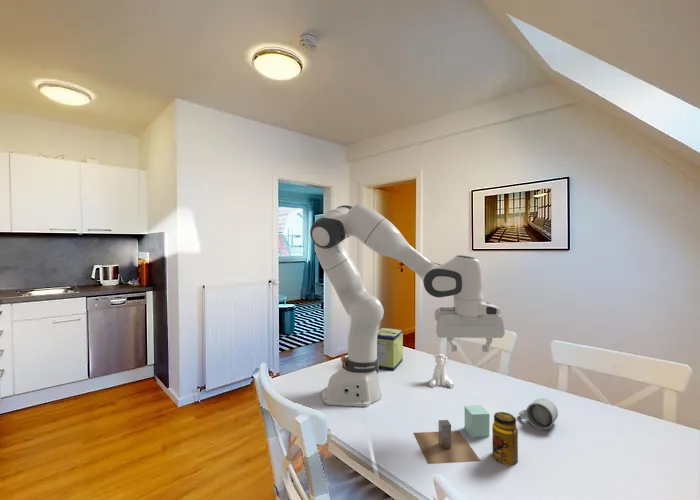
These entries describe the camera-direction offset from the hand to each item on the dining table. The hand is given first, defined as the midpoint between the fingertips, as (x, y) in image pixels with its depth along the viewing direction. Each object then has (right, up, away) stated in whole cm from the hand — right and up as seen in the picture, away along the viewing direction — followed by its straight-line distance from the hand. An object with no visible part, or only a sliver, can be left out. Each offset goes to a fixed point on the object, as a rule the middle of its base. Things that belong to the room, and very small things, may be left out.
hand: (469, 351), depth 103 cm
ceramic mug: (+23, -24, +2) cm, 33 cm away
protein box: (-19, -23, +55) cm, 63 cm away
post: (-11, -23, -12) cm, 28 cm away
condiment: (+4, -24, -16) cm, 29 cm away
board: (-11, -24, -12) cm, 29 cm away
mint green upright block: (0, -24, -5) cm, 24 cm away
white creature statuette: (0, -23, +32) cm, 40 cm away
